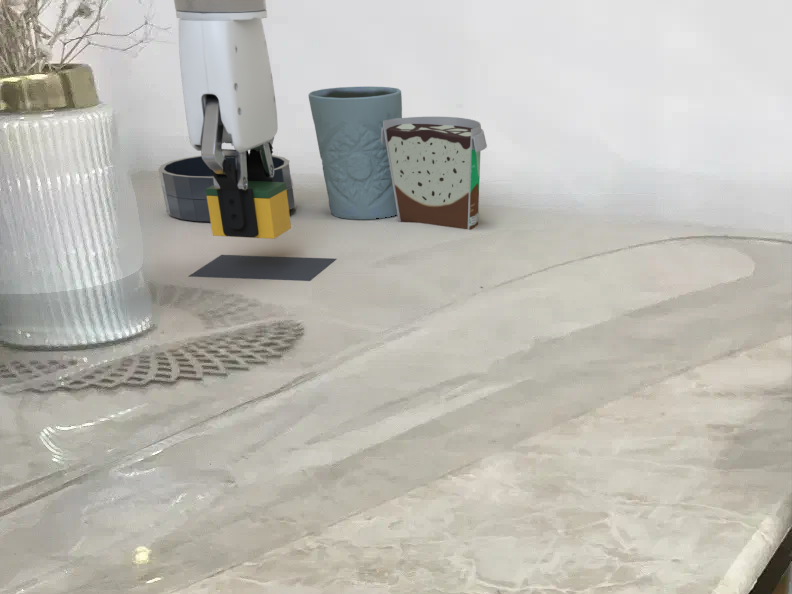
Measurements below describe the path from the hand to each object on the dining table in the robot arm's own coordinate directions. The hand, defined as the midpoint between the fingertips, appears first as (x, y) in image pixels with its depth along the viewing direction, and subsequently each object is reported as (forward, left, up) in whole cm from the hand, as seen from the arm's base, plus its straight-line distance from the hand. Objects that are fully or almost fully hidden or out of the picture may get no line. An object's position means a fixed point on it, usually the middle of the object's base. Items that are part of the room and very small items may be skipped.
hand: (251, 227), depth 106 cm
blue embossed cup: (+2, +27, -4) cm, 28 cm away
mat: (0, 0, -4) cm, 4 cm away
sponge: (0, 0, 0) cm, 0 cm away
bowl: (-13, +24, -4) cm, 28 cm away
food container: (+13, +22, -4) cm, 27 cm away
